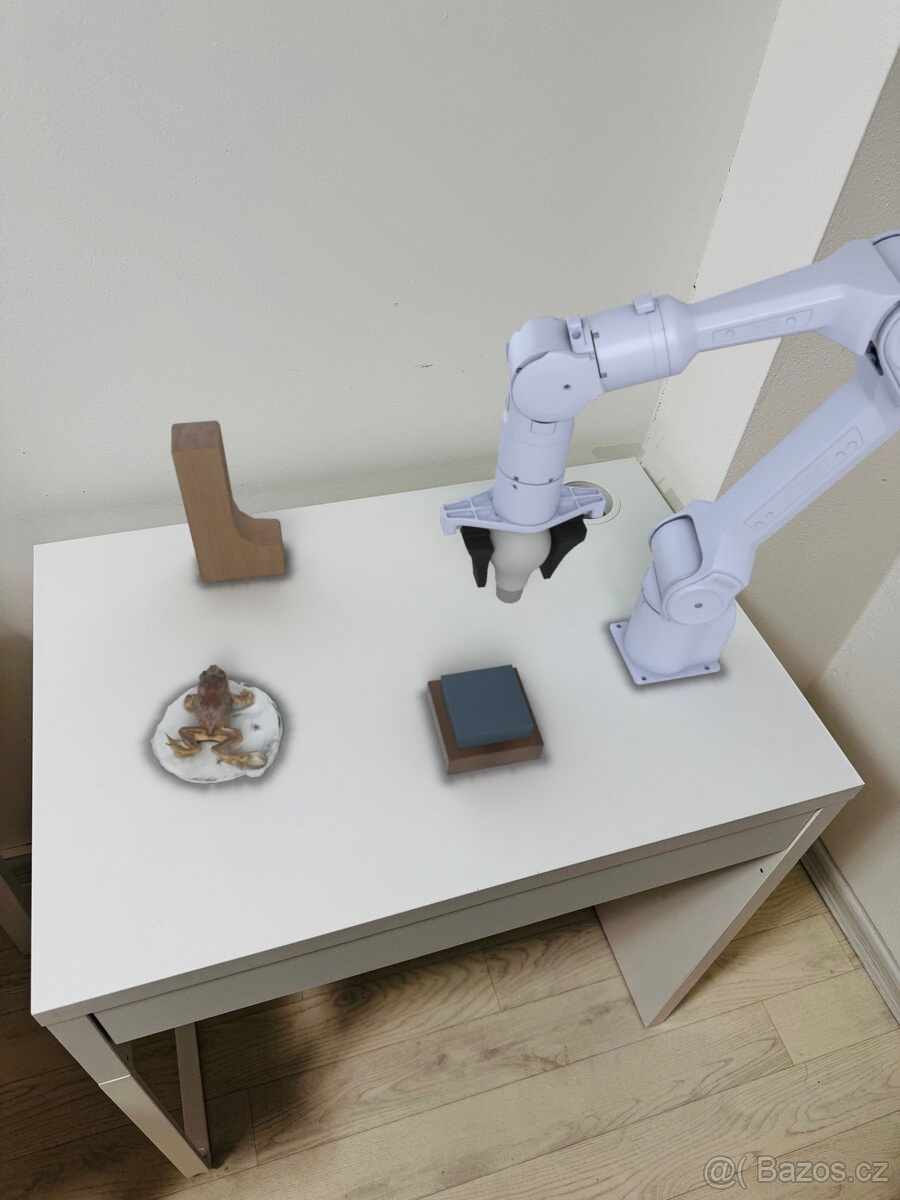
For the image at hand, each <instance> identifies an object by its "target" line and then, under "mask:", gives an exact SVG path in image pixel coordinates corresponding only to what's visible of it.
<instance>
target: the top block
mask: <svg viewBox="0 0 900 1200" xmlns="http://www.w3.org/2000/svg"><path fill="white" fill-rule="evenodd" d="M513 668H514V666H513V664H506V665H500V666H493V667H485V668H480V669H473V670H468V671H460V672H455V673H448V674H442V675H440V679H441V680H440V679H439V680H440V690H441V694H442V697H443V701H444V705H445V708H446V712H447V715H448V719H449V722H450V726H451V729H452V733H453V736H454V740H455V744H456V747H457V750H458V749H464V748H470V747H475V746H481V745H487V744H492V743H498V742H503V741H509V740H515V739H520V738H526V737H531V733H532V729H533V722H532V719H531V716H530V713H529V711H528V708H527V705H526V702H525V699H524V697H523V694H522V691H521V688H520V686H519V683H518V680H517V677H516V674H515V672H514V669H513Z"/></svg>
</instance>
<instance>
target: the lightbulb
mask: <svg viewBox="0 0 900 1200" xmlns="http://www.w3.org/2000/svg"><path fill="white" fill-rule="evenodd" d="M489 531H490V538H491V541H492V544H493V546H494V549H495V551H494V553H493V554H492V557H491V559H490V563H491V565H492V566H493V568H494V580H495V583H496V584H495V595H496V598H497V599H498V600H499V601H501V602H502V603H505V604H515V603H517V602H519V601H520V600H521V598H522V595H523V591H524V588H525V587H526V585H527V584H528V581H529V578H530V577H531V575H532V573H533V572H534V571H536V570H537V569H539V566H540V565H541V564H542V563H543V562H544V561H545V560H546V558H547V556H548V554H549V552H550V548H551V534H550V530H549V528H548V529H546V530H543V531H540V532H536V533H519V532H511V531H503V530H496V529H489Z"/></svg>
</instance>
